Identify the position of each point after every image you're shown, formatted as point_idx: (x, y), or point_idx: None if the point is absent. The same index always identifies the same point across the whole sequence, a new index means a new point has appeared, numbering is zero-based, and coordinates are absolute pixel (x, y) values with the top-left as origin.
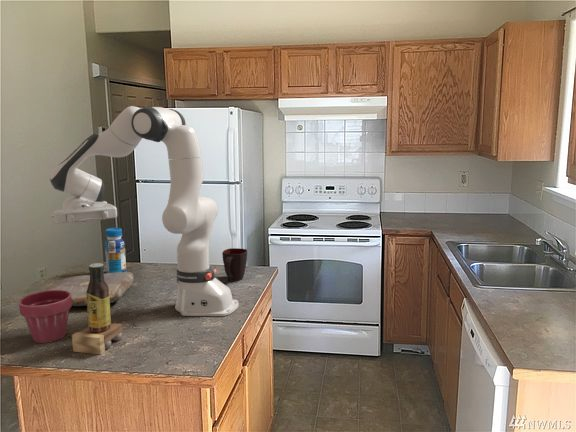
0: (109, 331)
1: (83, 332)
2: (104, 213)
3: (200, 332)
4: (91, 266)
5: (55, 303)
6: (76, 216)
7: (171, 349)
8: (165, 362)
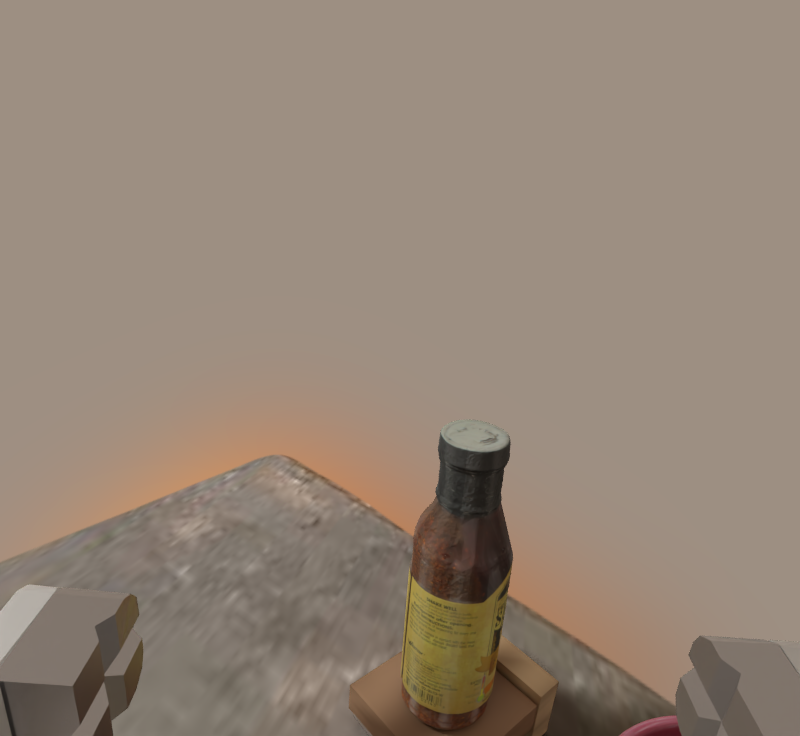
0: None
1: (511, 701)
2: (77, 595)
3: None
4: (499, 430)
5: (661, 718)
6: (723, 641)
7: (264, 566)
8: (319, 525)
